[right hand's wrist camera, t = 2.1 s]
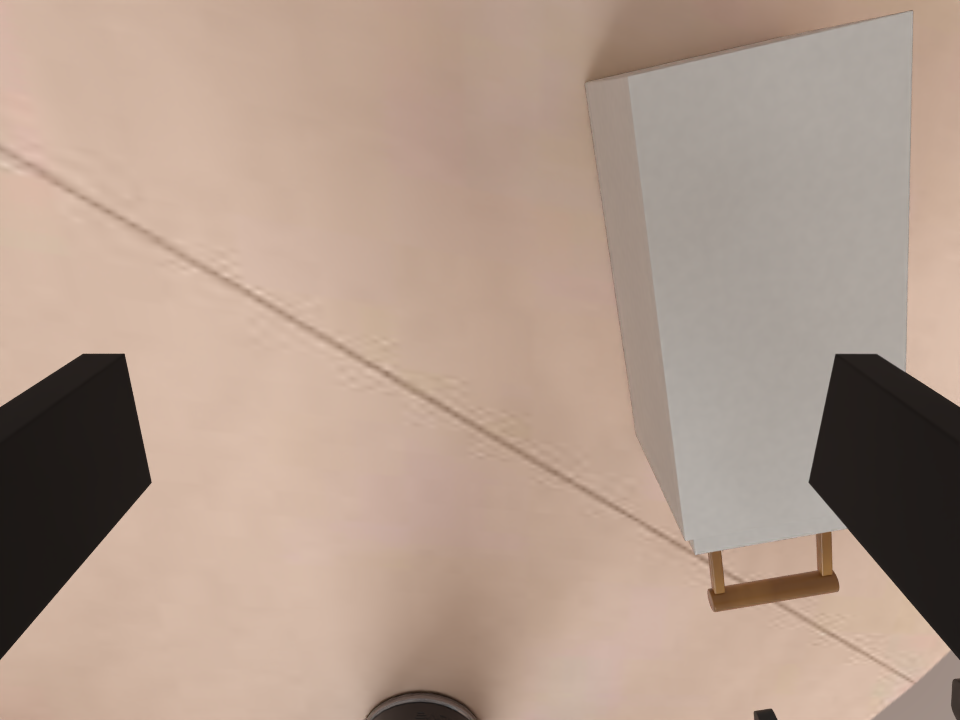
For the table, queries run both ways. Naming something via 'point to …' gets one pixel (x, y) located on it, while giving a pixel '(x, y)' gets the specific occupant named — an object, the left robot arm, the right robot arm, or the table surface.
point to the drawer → (773, 587)
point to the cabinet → (755, 254)
